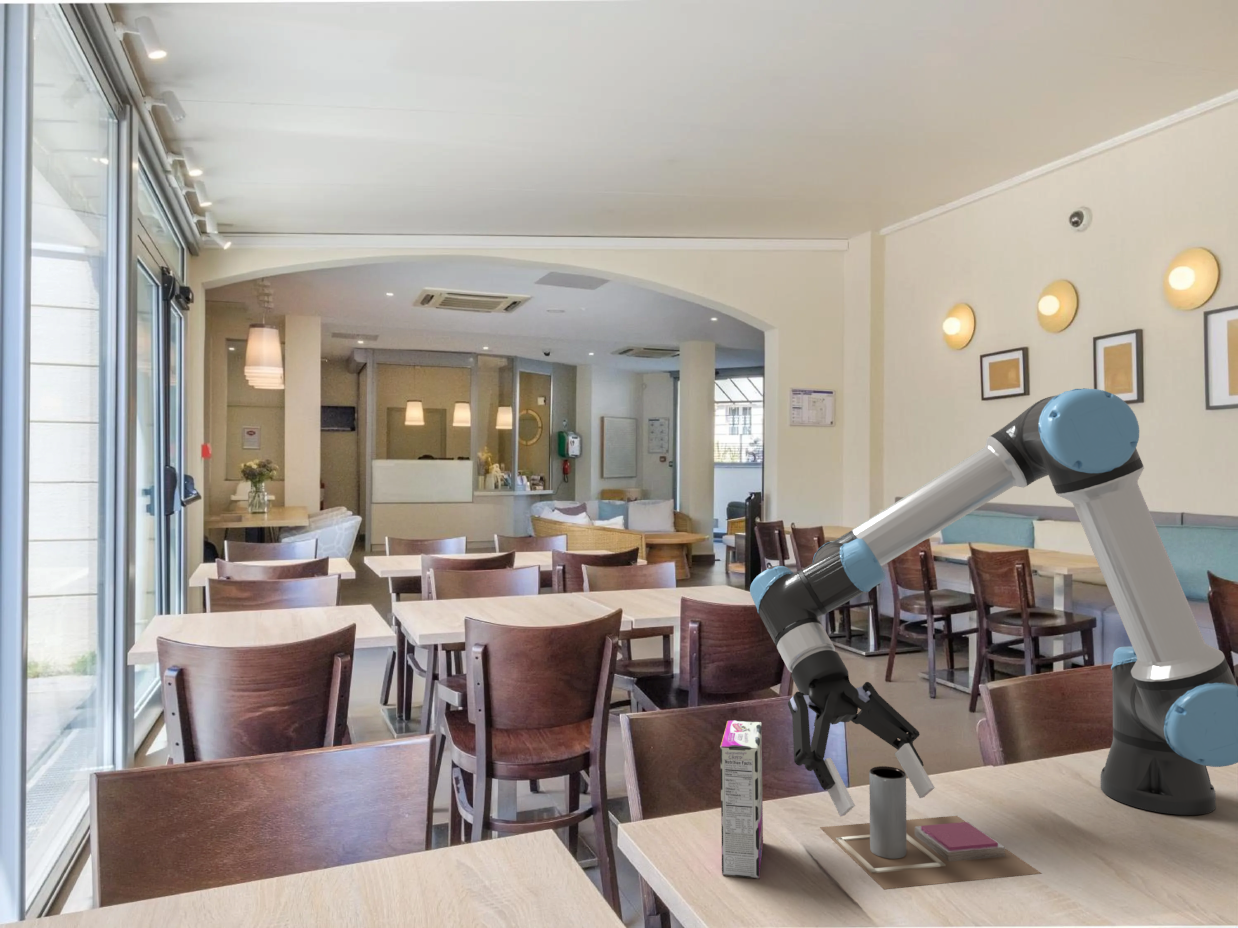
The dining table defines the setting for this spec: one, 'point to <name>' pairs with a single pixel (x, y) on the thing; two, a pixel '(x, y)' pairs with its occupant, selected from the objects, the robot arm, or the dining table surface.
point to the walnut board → (921, 858)
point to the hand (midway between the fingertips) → (888, 801)
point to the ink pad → (959, 841)
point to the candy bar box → (741, 799)
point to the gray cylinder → (888, 812)
